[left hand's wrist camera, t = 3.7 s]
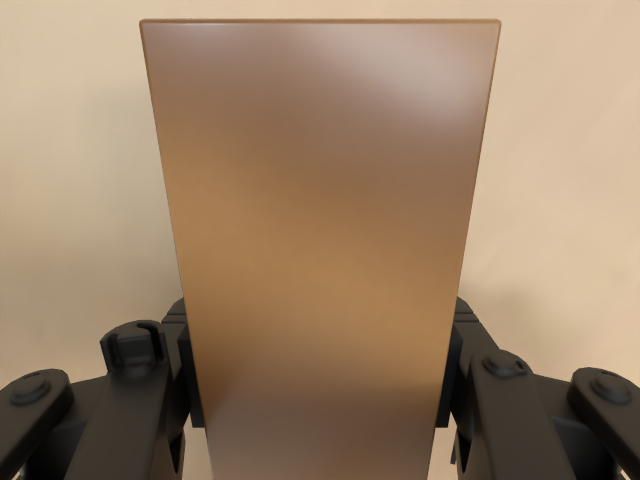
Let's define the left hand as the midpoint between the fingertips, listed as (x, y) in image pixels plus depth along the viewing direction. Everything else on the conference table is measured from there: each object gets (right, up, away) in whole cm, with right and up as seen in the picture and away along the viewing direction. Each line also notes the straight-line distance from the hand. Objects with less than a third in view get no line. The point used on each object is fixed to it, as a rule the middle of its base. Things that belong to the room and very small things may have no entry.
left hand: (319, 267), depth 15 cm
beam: (0, -31, +13) cm, 34 cm away
